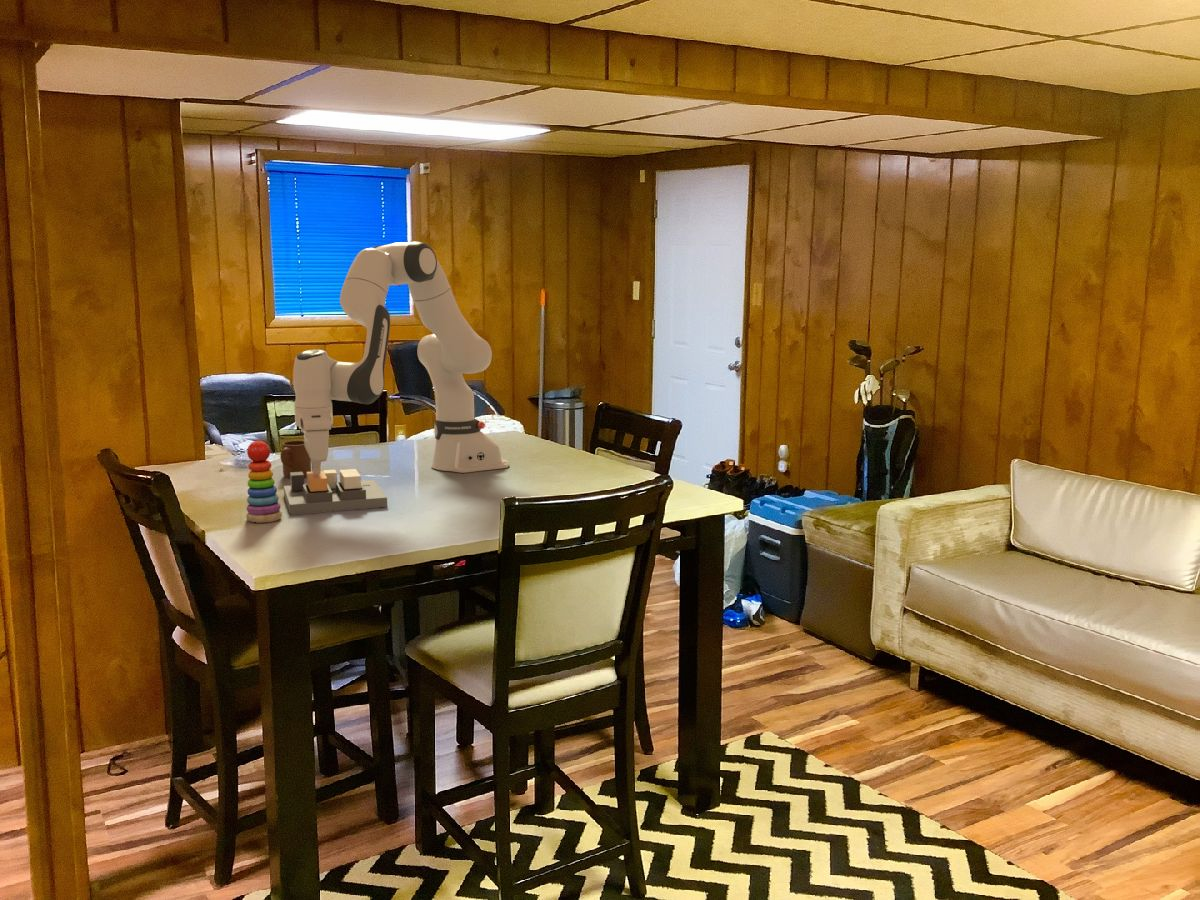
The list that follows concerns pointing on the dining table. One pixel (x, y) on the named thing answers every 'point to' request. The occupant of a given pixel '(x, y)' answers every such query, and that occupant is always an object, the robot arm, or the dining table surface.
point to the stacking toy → (261, 486)
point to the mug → (295, 458)
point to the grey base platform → (335, 498)
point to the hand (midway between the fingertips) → (316, 473)
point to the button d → (350, 479)
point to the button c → (317, 481)
